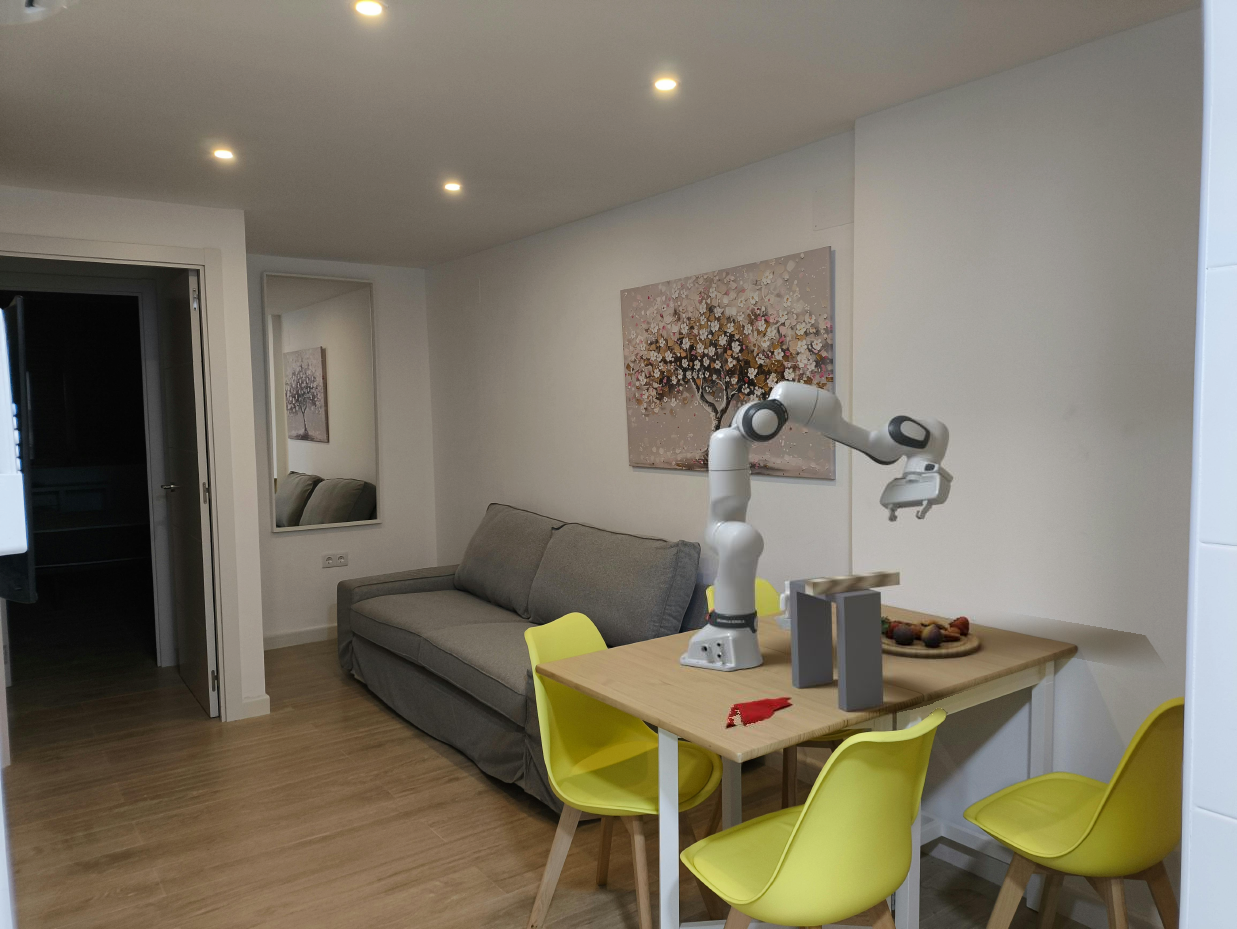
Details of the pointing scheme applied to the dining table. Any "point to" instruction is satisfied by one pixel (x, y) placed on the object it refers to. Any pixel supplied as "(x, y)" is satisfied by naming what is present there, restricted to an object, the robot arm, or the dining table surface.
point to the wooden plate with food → (928, 638)
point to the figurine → (785, 608)
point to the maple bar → (852, 582)
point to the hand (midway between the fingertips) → (905, 519)
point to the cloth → (757, 710)
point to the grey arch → (838, 643)
